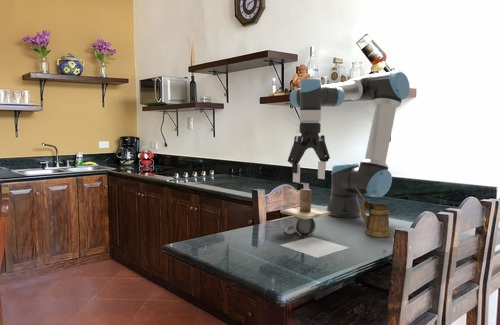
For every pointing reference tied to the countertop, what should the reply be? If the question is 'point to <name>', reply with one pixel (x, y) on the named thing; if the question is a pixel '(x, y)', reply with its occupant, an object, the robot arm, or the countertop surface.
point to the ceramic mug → (301, 226)
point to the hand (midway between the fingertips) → (309, 180)
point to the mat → (314, 247)
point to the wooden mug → (375, 218)
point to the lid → (305, 207)
